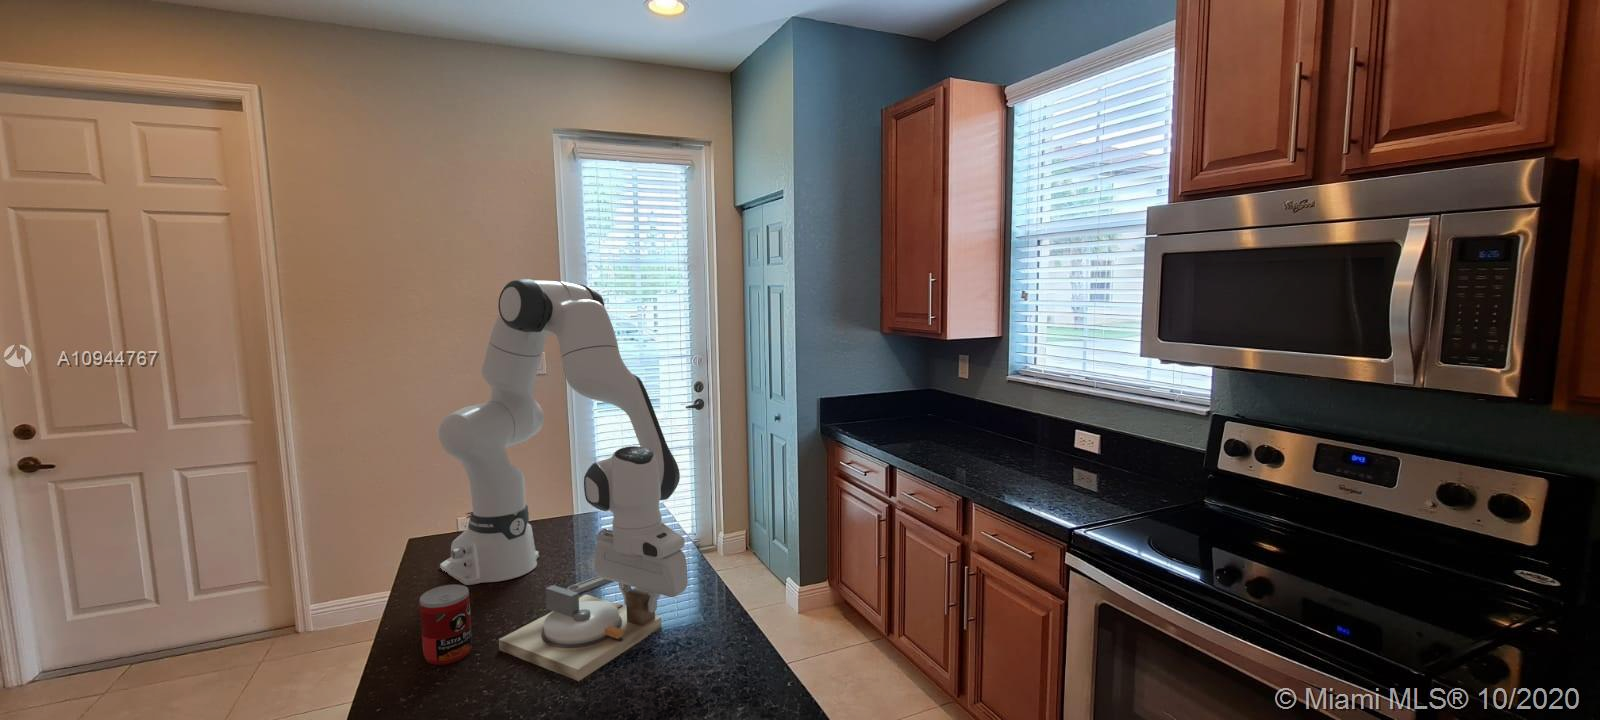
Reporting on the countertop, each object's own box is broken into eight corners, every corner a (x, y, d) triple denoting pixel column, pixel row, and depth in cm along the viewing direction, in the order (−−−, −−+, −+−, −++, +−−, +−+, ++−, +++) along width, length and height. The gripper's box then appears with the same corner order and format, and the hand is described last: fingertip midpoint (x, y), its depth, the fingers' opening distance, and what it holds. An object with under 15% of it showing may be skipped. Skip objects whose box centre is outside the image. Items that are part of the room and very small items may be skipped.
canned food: (440, 670, 113) (435, 608, 112) (414, 657, 117) (409, 597, 116) (482, 649, 119) (478, 590, 118) (456, 637, 124) (452, 580, 122)
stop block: (627, 621, 125) (625, 593, 124) (640, 613, 128) (639, 585, 127) (641, 626, 123) (640, 597, 122) (655, 617, 126) (653, 589, 125)
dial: (521, 630, 121) (519, 600, 120) (577, 601, 132) (576, 573, 132) (592, 656, 112) (590, 624, 112) (646, 622, 123) (645, 593, 123)
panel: (499, 650, 119) (498, 637, 119) (586, 603, 136) (585, 592, 136) (578, 681, 109) (578, 667, 109) (661, 627, 126) (661, 615, 126)
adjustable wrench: (571, 598, 140) (570, 590, 140) (558, 589, 145) (558, 581, 144) (674, 563, 156) (674, 556, 156) (660, 556, 161) (660, 549, 161)
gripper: (584, 532, 126) (588, 602, 127) (668, 551, 116) (671, 628, 117) (609, 521, 131) (612, 589, 133) (691, 539, 121) (694, 612, 123)
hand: (640, 607), depth 125 cm, fingers closed on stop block, 4 cm apart
